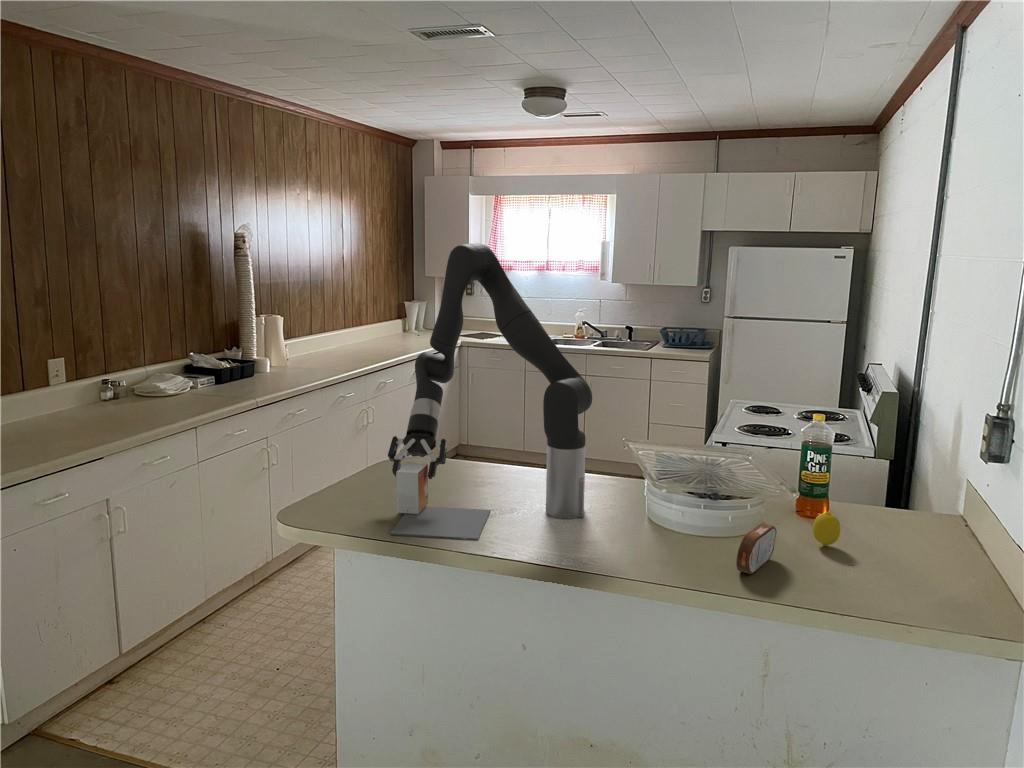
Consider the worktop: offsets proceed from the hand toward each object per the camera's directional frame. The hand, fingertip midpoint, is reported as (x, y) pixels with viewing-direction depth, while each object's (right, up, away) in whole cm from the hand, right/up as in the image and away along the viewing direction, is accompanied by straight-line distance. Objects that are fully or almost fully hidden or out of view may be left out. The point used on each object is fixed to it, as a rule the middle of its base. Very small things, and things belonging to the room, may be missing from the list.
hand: (413, 476), depth 186 cm
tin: (+75, -15, -29) cm, 82 cm away
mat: (+8, -10, -7) cm, 15 cm away
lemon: (+93, -13, -19) cm, 96 cm away
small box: (0, -8, +1) cm, 8 cm away
